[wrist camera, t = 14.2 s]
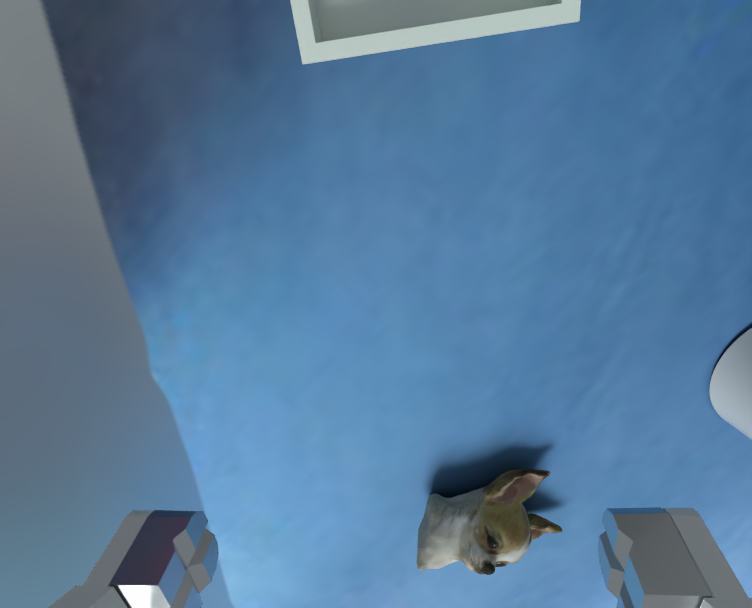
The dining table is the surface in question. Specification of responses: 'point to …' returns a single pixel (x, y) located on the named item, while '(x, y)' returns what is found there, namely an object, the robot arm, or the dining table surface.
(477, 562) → the ceramic sculpture
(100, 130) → the dining table surface
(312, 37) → the tray
